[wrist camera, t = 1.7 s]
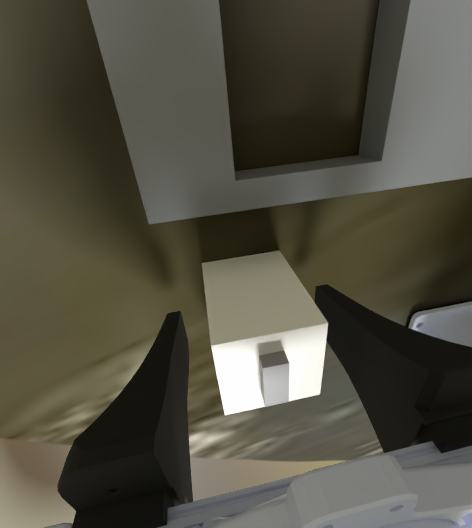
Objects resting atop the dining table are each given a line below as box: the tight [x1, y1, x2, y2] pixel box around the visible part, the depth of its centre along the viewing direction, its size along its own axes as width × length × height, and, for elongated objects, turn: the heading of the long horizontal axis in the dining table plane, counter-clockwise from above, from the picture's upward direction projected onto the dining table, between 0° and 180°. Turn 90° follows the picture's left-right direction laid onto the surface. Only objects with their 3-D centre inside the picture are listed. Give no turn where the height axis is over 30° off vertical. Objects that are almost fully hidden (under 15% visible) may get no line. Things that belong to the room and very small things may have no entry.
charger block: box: [202, 251, 328, 415], centre depth 13 cm, size 4×4×7 cm
